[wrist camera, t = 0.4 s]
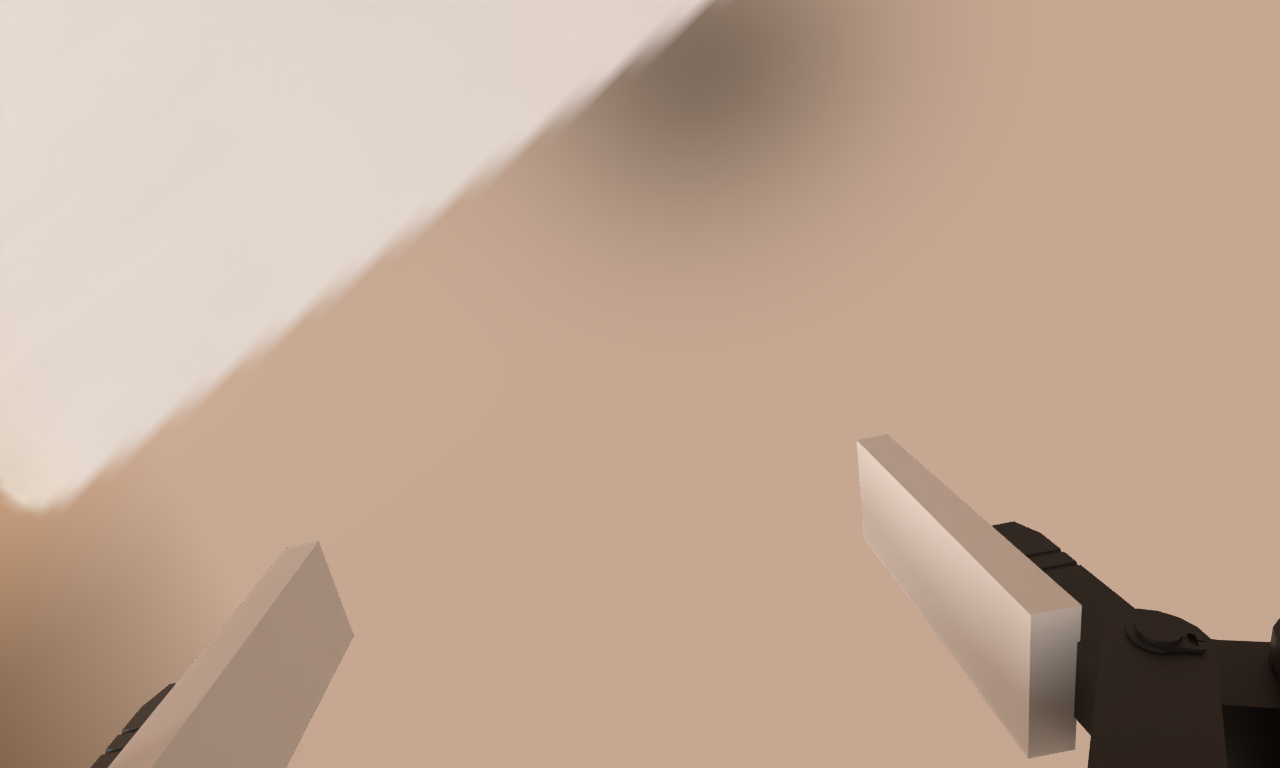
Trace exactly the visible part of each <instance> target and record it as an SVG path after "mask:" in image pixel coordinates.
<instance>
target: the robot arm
mask: <svg viewBox="0 0 1280 768" xmlns="http://www.w3.org/2000/svg"><path fill="white" fill-rule="evenodd" d="M857 451H858V465H859V479H860V491H861V505H862V520H863V532H864V539H865V541H866V542H867V543H868V545H869V546H870V547H871V549H872V550H873V551H874V553H875V554H876V555H877V557H878V558H879V559H880V561H881V562H882V563H883V565H884V566H885V567H886V569H887V570H888V571H889V573H890V574H891V575H892V577H893V578H894V580H895V581H896V582H897V583H898V585H899V586H900V587H901V589H902V590H903V592H904V593H905V594H906V596H907V597H908V598H909V599H910V601H911V602H912V604H913V605H914V606H915V607H916V609H917V610H918V612H919V613H920V614H921V616H922V617H923V618H924V619H925V621H926V622H927V624H928V625H929V626H930V628H931V629H932V630H933V632H934V633H935V634H936V636H937V637H938V638H939V640H940V641H941V642H942V644H943V645H944V647H945V648H946V649H947V651H948V652H949V653H950V654H951V656H952V657H953V659H954V660H955V661H956V663H957V664H958V665H959V667H960V668H961V669H962V671H963V672H964V673H965V675H966V676H967V677H968V679H969V680H970V681H971V683H972V684H973V685H974V687H975V688H976V689H977V691H978V692H979V693H980V695H981V696H982V697H983V699H984V700H985V701H986V703H987V704H988V706H989V707H990V708H991V710H992V711H993V712H994V714H995V715H996V716H997V718H998V719H999V720H1000V722H1001V723H1002V724H1003V725H1004V727H1005V728H1006V730H1007V731H1008V732H1009V734H1010V735H1011V736H1012V737H1013V739H1014V740H1015V742H1016V743H1017V744H1018V746H1019V747H1020V748H1021V750H1022V751H1023V752H1024V754H1025V755H1026V756H1027V758H1033V757H1038V756H1044V755H1049V754H1054V753H1059V752H1064V751H1069V750H1074V749H1075V739H1076V719H1077V721H1078V722H1079V723H1080V724H1081V725H1082V726H1083V727H1084V728H1085V730H1086V731H1087V732H1088V733H1089V734H1090V735H1091V741H1090V751H1089V760H1088V768H1280V619H1279V620H1278V621H1277V623H1276V624H1275V625H1274V627H1273V632H1272V637H1271V642H1251V641H1228V640H1214V639H1210V638H1209V637H1208V636H1207V635H1206V634H1205V633H1203V632H1202V631H1201V630H1200V629H1199V628H1198V627H1196V626H1194V625H1192V624H1190V623H1188V622H1187V621H1185V620H1183V619H1181V618H1179V617H1176V616H1172V615H1169V614H1166V613H1162V612H1159V611H1153V610H1145V609H1135V608H1134V607H1132V606H1131V605H1130V604H1129V603H1127V602H1126V601H1125V600H1124V599H1122V598H1121V597H1120V596H1119V595H1117V594H1116V593H1115V592H1114V591H1112V590H1111V589H1110V588H1109V587H1107V586H1106V585H1105V584H1104V583H1102V582H1101V581H1100V580H1099V579H1097V578H1096V577H1095V576H1094V575H1092V574H1091V573H1090V572H1089V571H1087V570H1086V569H1085V568H1084V567H1082V566H1081V565H1077V563H1076V561H1075V560H1074V559H1072V558H1071V557H1070V556H1069V555H1067V554H1066V553H1065V552H1061V550H1060V548H1059V547H1057V546H1056V545H1055V544H1054V543H1052V542H1051V541H1050V540H1049V539H1047V538H1046V537H1045V536H1044V535H1042V534H1041V533H1039V532H1037V531H1035V530H1032V529H1030V528H1028V527H1025V526H1023V525H1020V524H1018V523H1016V522H1009V523H1004V524H999V525H993V526H991V525H990V524H989V523H988V522H987V521H985V520H984V519H983V518H982V517H981V516H979V514H977V513H976V512H975V511H974V510H973V509H972V508H971V507H970V506H968V505H967V504H966V503H965V502H964V501H963V500H962V499H960V498H959V497H958V496H957V495H956V494H955V493H954V492H952V491H951V490H950V489H949V488H948V487H947V486H946V485H944V484H943V483H942V482H941V481H940V480H939V479H938V478H937V477H935V476H934V475H933V474H932V473H931V472H930V471H929V470H928V469H926V468H925V467H924V466H923V465H922V464H921V463H920V462H918V461H917V460H916V459H915V458H914V457H913V456H912V455H911V454H909V453H908V452H907V451H906V450H905V449H904V448H902V447H901V446H900V445H899V444H898V443H897V442H896V441H895V440H893V439H892V438H891V437H890V436H889V435H888V434H887V435H881V436H876V437H871V438H865V439H860V440H857ZM353 636H354V635H353V632H352V629H351V626H350V624H349V621H348V619H347V616H346V613H345V611H344V608H343V605H342V602H341V600H340V597H339V595H338V592H337V589H336V587H335V584H334V581H333V578H332V576H331V573H330V570H329V568H328V565H327V562H326V560H325V557H324V555H323V552H322V549H321V546H320V544H319V541H318V542H313V543H307V544H302V545H297V546H291V547H287V548H286V549H285V550H284V552H283V553H282V554H281V555H280V556H279V558H278V559H277V560H276V561H275V563H274V564H273V565H272V566H271V567H270V569H269V570H268V571H267V573H266V574H265V575H264V576H263V577H262V579H261V580H260V581H259V582H258V583H257V585H256V586H255V587H254V588H253V590H252V591H251V592H250V593H249V595H248V596H247V597H246V598H245V599H244V601H243V602H242V603H241V604H240V606H239V607H238V608H237V609H236V611H235V612H234V613H233V614H232V615H231V617H230V618H229V619H228V620H227V622H226V623H225V624H224V625H223V627H222V628H221V629H220V630H219V632H218V633H217V634H216V635H215V636H214V638H213V639H212V640H211V641H210V643H209V644H208V645H207V646H206V647H205V649H204V650H203V651H202V652H201V654H200V655H199V656H198V657H197V659H196V660H195V661H194V662H193V663H192V665H191V666H190V667H189V668H188V670H187V671H186V672H185V673H184V675H183V676H182V677H181V678H180V679H179V681H178V682H177V683H174V684H169V685H168V686H167V687H166V688H165V689H163V690H162V691H161V692H160V693H158V694H157V695H156V696H155V697H153V698H152V699H151V700H150V701H148V702H147V703H146V704H145V705H143V706H142V707H141V708H140V710H139V711H138V712H137V713H136V714H135V716H134V717H133V718H132V719H131V720H130V722H129V723H128V724H127V725H126V726H125V728H124V729H123V730H122V734H121V735H118V736H117V737H116V738H115V739H114V740H113V742H112V743H111V744H110V745H109V746H108V748H107V749H106V753H105V754H104V755H101V756H100V757H99V758H98V760H97V761H96V762H95V763H94V764H93V765H92V767H91V768H286V767H287V765H288V763H289V761H290V759H291V757H292V755H293V753H294V751H295V749H296V747H297V745H298V743H299V742H300V740H301V738H302V736H303V734H304V732H305V730H306V728H307V726H308V724H309V722H310V720H311V718H312V716H313V714H314V712H315V710H316V708H317V707H318V705H319V702H320V701H321V699H322V697H323V695H324V693H325V691H326V689H327V687H328V685H329V683H330V681H331V679H332V677H333V675H334V673H335V671H336V669H337V667H338V666H339V664H340V662H341V660H342V658H343V656H344V654H345V652H346V650H347V648H348V646H349V644H350V642H351V640H352V638H353Z"/></svg>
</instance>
